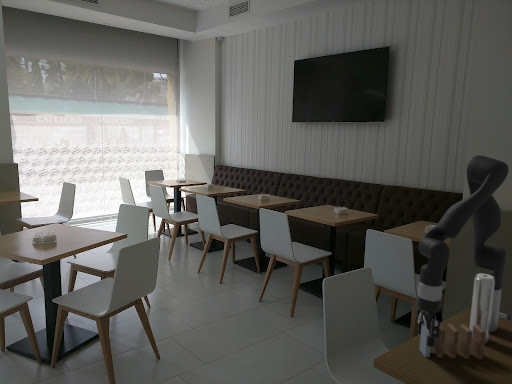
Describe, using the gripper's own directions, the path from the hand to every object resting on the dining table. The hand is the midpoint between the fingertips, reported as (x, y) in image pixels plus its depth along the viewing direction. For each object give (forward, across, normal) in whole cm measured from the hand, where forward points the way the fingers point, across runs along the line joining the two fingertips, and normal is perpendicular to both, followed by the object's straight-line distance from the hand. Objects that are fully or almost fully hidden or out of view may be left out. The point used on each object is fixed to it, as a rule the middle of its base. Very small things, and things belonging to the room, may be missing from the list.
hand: (425, 339), depth 137 cm
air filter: (+5, -11, +24) cm, 27 cm away
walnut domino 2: (+5, 0, +9) cm, 10 cm away
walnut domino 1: (+5, 0, +4) cm, 7 cm away
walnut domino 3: (+5, 0, +14) cm, 14 cm away
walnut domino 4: (+5, 0, +18) cm, 19 cm away
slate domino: (+5, 0, 0) cm, 5 cm away
